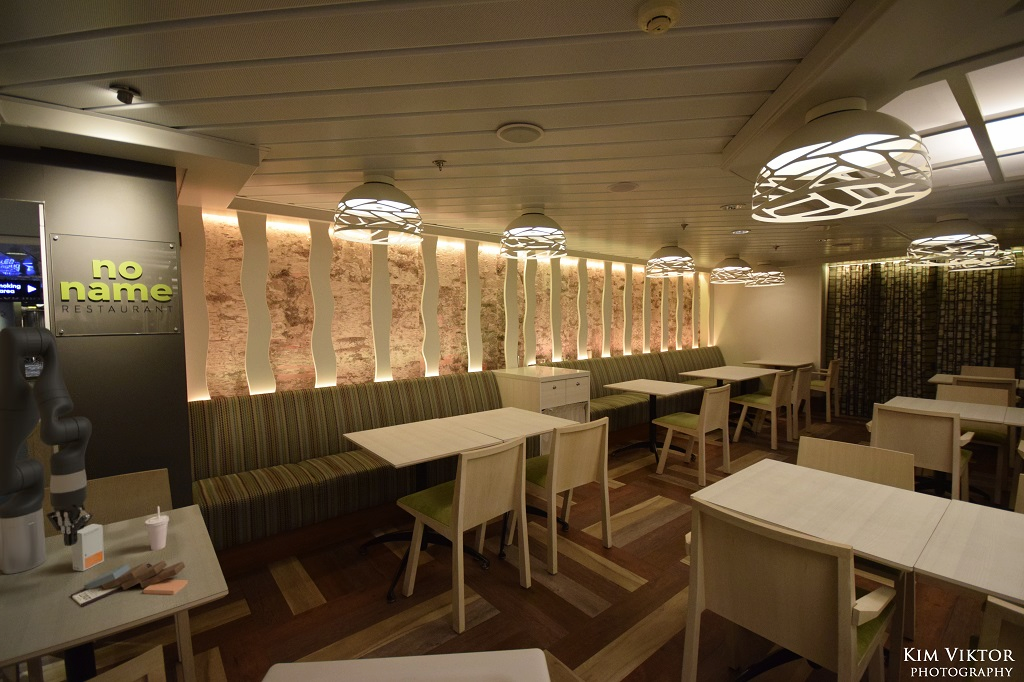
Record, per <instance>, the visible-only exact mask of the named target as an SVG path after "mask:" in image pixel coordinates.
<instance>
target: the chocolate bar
mask: <svg viewBox="0 0 1024 682" xmlns="http://www.w3.org/2000/svg"><path fill="white" fill-rule="evenodd" d="M146 565H147V567H148V568H149V567H151V566H153V565H152V564H150V563H146ZM122 584H123V583H122ZM122 591H124V589H123V587H122V585H121V584H119V585H117V586H115V587H112V588H110V589H104V588H103V586H102V585H100V586H98V587H95V588H93V589H86V588H84V589H82V590H79V591H76V592H75V593H71V594H70V598H72V599H73V600H74V601H75V602H76V603H77V604H79V605H80V606H81V607H82V608H85V607H87V606H89V605H92V604H94V603H96V602H98V601H100V600H103V599H105V598H107V597H111V596H113V595H115V594H117V593H119V592H122Z"/></svg>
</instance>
